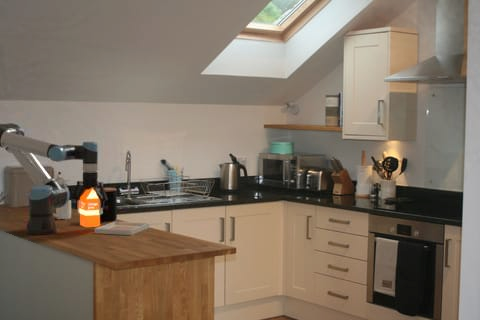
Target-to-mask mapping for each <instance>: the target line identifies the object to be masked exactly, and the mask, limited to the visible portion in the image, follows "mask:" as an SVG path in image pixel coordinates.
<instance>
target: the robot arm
mask: <svg viewBox="0 0 480 320" xmlns="http://www.w3.org/2000/svg"><path fill="white" fill-rule="evenodd" d="M0 148H3V149H5V151H6V152H7V153H10V154H12V155H13V156H14V158H15V159H16V160H17V162H18V163H19V164H20V166H21V167H22V168H23V170H24V171H25V172H26V174H27V175H28V177H29V178H30V179H31V180H32V182H33V183H34V185H35V186H32V187H31V188H30V189H29V190H28V214H29V218H28V220H27V224H26V227H25V233H26V234H28V235H49V234H50V235H51V234H55V233H57V231H58V228H57V224H56V221H55V219H54V216H53V213H54V210H55V209H56V208H60V207H62V206H64V205H66V204H67V203H68V201H69V200H70V194H71V193H70V190H69V189H68V187H67V186H65V185H63V184H60V182H59V181H58V180H57V179H56V178H52V177H51V175H50V174H49V173H48V172H47V170H46V169H45V167H44V166H43V165H42V163H41V162H40V161H39V159H38V158H37V157H36V156H40V157H43V158H47V159H50V160H51V161H53V162H56V163H58V162H64V161H71V160H75V161H76V160H78V161H81V160H82V171H83V172H82V180H77V181H76V187H75V190H74V193H73V195H72V197H71V198H72V199H73V200H75V206H76V208H77V209H76V210H77V212H76V213H77V214H80V197H81V196H82V195H83V193H84V192H85V191H86V190H88V189H91V188H93V189H94V190H95V192H96V193H97V194H96V195H97V196H98V198H99V200H100V202H99V214H103V208H104V201H106V200H108V198H107V195H106V192H105V189H104V188H105V187H104V181H98V174H99V173H98V159H99V158H98V154H99V152H98V151H99V149H98V148H99V147H98V142H95V141H83V142H82V145H81V144H79V145H78V144H64V145H59V144H54V143H51V142H48V141H44V140H41V139H37V138H33V137H29V136H26V134H25V130H24V129H23V127H22V126H20V125H19V124H16V123H11V122H10V123H0ZM35 155H36V156H35ZM82 185H83V186H82ZM81 187H82V188H81ZM98 187H99V188H100V191H101V193H100V192H99V190H98V189H99V188H98ZM94 190H93V191H94ZM101 194H102V195H101Z"/></svg>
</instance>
